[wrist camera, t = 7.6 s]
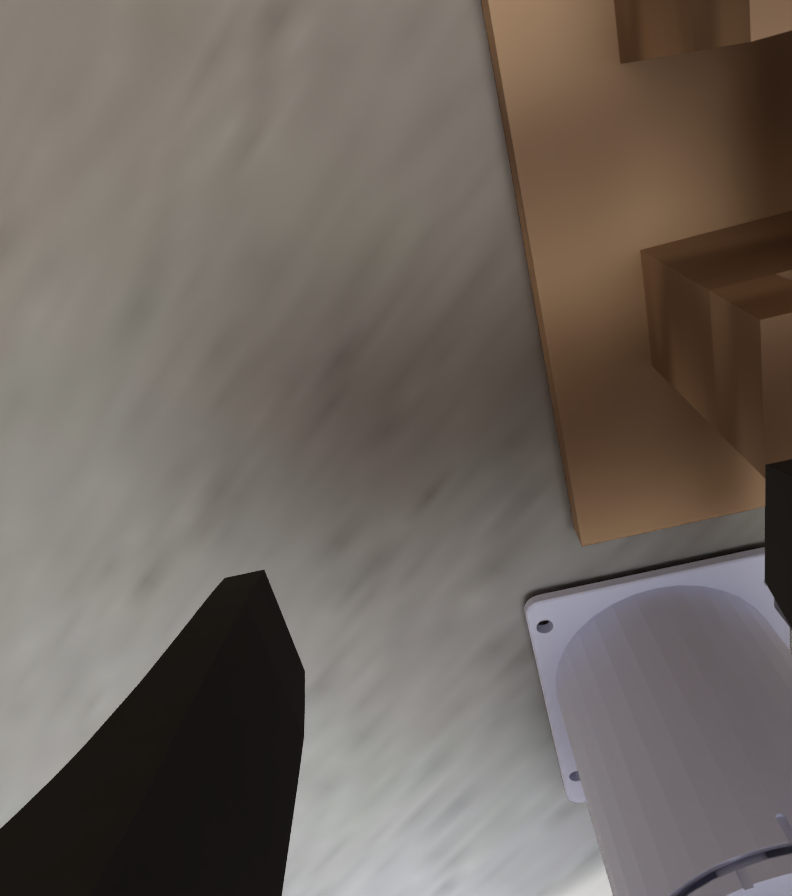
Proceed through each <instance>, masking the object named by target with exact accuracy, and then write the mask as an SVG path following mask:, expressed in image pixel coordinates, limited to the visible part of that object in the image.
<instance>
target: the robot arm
mask: <svg viewBox="0 0 792 896" xmlns="http://www.w3.org/2000/svg"><path fill="white" fill-rule="evenodd" d="M774 599H775V600H776V602H777V604H778V606H779V607H780V609H781V611H782V613H783V615H784V616H785V618H786V620H787V621H788V623H789V625H790V626H791V628H792V459H790V460H785V461H781V462H776V463H771V464H766V465H765V547H762V548H757V549H752V550H748V551H743V552H738V553H734V554H729V555H724V556H719V557H715V558H710V559H705V560H701V561H696V562H691V563H686V564H682V565H677V566H672V567H668V568H663V569H658V570H653V571H649V572H644V573H639V574H635V575H630V576H625V577H620V578H616V579H611V580H606V581H602V582H597V583H592V584H587V585H583V586H578V587H573V588H569V589H564V590H559V591H554V592H550V593H545V594H540V595H536V596H534V597H531V598H530V599H529V600H528V601H527V602H526V604H525V607H524V611H525V616H526V620H527V624H528V629H529V633H530V638H531V642H532V647H533V651H534V655H535V660H536V664H537V669H538V673H539V677H540V682H541V686H542V691H543V695H544V700H545V704H546V708H547V713H548V717H549V722H550V726H551V730H552V735H553V739H554V744H555V748H556V753H557V757H558V761H559V766H560V770H561V775H562V779H563V783H564V788H565V792H566V796H567V798H568V799H569V800H570V801H572V802H575V803H584V802H587V805H588V808H589V812H590V815H591V819H592V822H593V826H594V829H595V833H596V837H597V840H598V844H599V847H600V851H601V854H602V858H603V861H604V865H605V868H606V872H607V875H608V879H609V882H610V886H611V889H612V893H613V896H792V653H791V652H790V627H789V626H788V624H787V623H786V622H785V621H784V619H783V618H782V617H781V615H780V614H779V613H778V611H777V610H776V609H775V607H774ZM543 620H548V621H549V622H548V623H547V624H545V625H538V623H539V622H541V621H543ZM304 714H305V670H304V668H303V665H302V663H301V660H300V658H299V655H298V653H297V650H296V648H295V645H294V643H293V640H292V638H291V635H290V633H289V630H288V628H287V625H286V623H285V620H284V618H283V615H282V613H281V610H280V608H279V605H278V603H277V600H276V598H275V595H274V593H273V590H272V588H271V585H270V583H269V580H268V578H267V575H266V573H265V570H261V571H256V572H251V573H246V574H242V575H237V576H232V577H227V578H224V579H223V581H222V582H221V583H220V584H219V585H218V586H217V587H216V589H215V590H214V591H213V592H212V593H211V595H210V596H209V597H208V598H207V600H206V601H205V602H204V603H203V605H202V606H201V607H200V608H199V610H198V611H197V612H196V613H195V615H194V616H193V617H192V618H191V620H190V621H189V622H188V623H187V625H186V626H185V627H184V629H183V630H182V631H181V632H180V634H179V635H178V636H177V637H176V639H175V640H174V641H173V642H172V644H171V645H170V646H169V647H168V649H167V650H166V651H165V652H164V654H163V655H162V656H161V657H160V658H159V660H158V661H157V662H156V663H155V665H154V666H153V667H152V668H151V670H150V671H149V672H148V673H147V675H146V676H145V677H144V678H143V679H142V681H141V682H140V683H139V684H138V685H137V687H136V688H135V689H134V690H133V691H132V692H131V693H130V694H129V696H128V697H127V698H126V699H125V700H124V701H123V702H122V704H121V705H120V706H119V707H118V708H117V709H116V710H115V712H114V713H113V714H112V715H111V716H110V717H109V718H108V719H107V721H106V722H105V723H104V724H103V725H102V726H101V727H100V729H99V730H98V731H97V732H96V733H95V734H94V735H93V737H92V738H91V739H90V740H89V741H88V742H87V743H86V744H85V745H84V747H83V748H82V749H81V750H80V751H79V752H78V753H77V754H76V755H75V756H74V757H73V758H72V759H71V760H70V761H69V762H68V763H67V764H66V765H65V766H64V767H63V768H62V770H61V771H60V772H59V773H58V774H57V775H56V776H55V777H54V778H53V779H52V780H51V781H50V782H49V783H48V784H47V785H46V786H44V787H43V788H42V789H41V790H40V791H39V792H38V793H37V794H36V795H35V796H34V797H33V798H32V799H31V800H30V801H29V802H28V803H27V804H26V805H25V806H24V807H23V808H22V809H21V810H20V811H19V812H18V813H17V814H16V815H15V816H14V817H12V818H11V819H10V820H9V821H8V822H7V823H6V824H5V825H4V826H3V827H2V828H1V829H0V896H282V889H283V882H284V875H285V868H286V861H287V854H288V847H289V840H290V833H291V826H292V819H293V813H294V806H295V799H296V792H297V785H298V777H299V770H300V763H301V755H302V747H303V740H304ZM575 771H576V772H575Z"/></svg>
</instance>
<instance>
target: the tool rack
mask: <svg viewBox="0 0 792 896" xmlns="http://www.w3.org/2000/svg"><path fill="white" fill-rule="evenodd" d="M481 3H482V8H483V14H484V20H485V25H486V31H487V37H488V42H489V48H490V54H491V59H492V65H493V71H494V76H495V82H496V88H497V93H498V99H499V105H500V110H501V116H502V122H503V128H504V133H505V139H506V145H507V150H508V156H509V162H510V167H511V173H512V179H513V184H514V190H515V196H516V201H517V207H518V213H519V218H520V224H521V230H522V235H523V241H524V247H525V252H526V258H527V264H528V270H529V275H530V281H531V287H532V292H533V298H534V304H535V309H536V315H537V321H538V326H539V332H540V338H541V343H542V349H543V355H544V360H545V366H546V372H547V377H548V383H549V389H550V394H551V400H552V406H553V412H554V417H555V423H556V429H557V434H558V440H559V446H560V451H561V457H562V463H563V468H564V474H565V480H566V485H567V491H568V497H569V502H570V508H571V514H572V519H573V525H574V529H575V531H576V534H577V536H578V538H579V540H580V543H581V545H582V546H587V545H591V544H596V543H600V542H605V541H610V540H614V539H619V538H623V537H628V536H633V535H637V534H642V533H646V532H651V531H655V530H660V529H665V528H669V527H674V526H678V525H683V524H688V523H692V522H697V521H701V520H706V519H711V518H715V517H720V516H724V515H729V514H734V513H738V512H743V511H747V510H752V509H757V508H761V507H765V465H766V464H771V463H776V462H781V461H785V460H790V459H792V0H481Z"/></svg>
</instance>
